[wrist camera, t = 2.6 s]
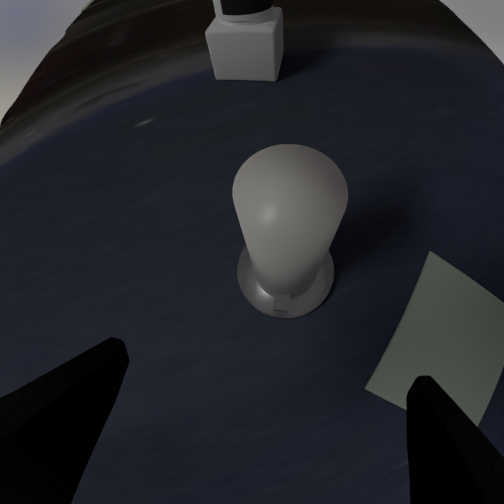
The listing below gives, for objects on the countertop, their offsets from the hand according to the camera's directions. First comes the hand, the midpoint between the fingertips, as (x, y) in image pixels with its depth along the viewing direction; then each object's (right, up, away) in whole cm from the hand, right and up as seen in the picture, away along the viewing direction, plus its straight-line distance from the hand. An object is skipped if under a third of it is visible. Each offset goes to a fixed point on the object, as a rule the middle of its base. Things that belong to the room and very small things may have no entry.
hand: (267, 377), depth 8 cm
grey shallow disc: (+2, +2, +14) cm, 14 cm away
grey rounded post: (+2, +2, +14) cm, 14 cm away
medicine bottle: (-1, +26, +23) cm, 35 cm away
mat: (+16, -4, +11) cm, 19 cm away
